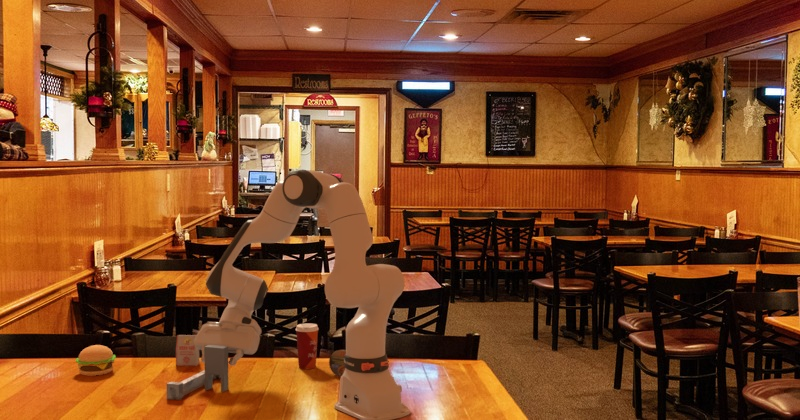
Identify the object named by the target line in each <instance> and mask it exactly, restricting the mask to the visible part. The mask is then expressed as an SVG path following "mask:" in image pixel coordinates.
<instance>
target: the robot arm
mask: <svg viewBox="0 0 800 420" xmlns="http://www.w3.org/2000/svg"><path fill="white" fill-rule="evenodd" d="M307 208H308V209H313V210H324V212H325V214H326V217H327V222H328V225H329V230H330V234H331V238H332V243H333V247H334V263H333V267H332V270H331V272H330V273H329V275H328V277H327V278H326V280H325V282H324V294H325V297H326V300H327V302H329V304H330V305H331V306H333V307H334V308H340V309H355V308H358V309H357V311H356V313H355V314H354V317H353V318H351V320H350V321H349V322H348V324H347V325H346V328H345V350H346V353H345V355H344V367H345V371H344V373H343V375H342V376H341V377H339V378H340V379H339V389H338V401H337V402H335V403H334V409H335V410H338V411H341V412H343V413H345V414H347V415H349V416H352V417H354V418H357V419H358V420H395V419H401V418H404V417H407V416H409V415H410V414H411V410H410V408H408V407H407V406H406V404H405V403H404V402H402V392H403V387H402V384H397V383H396V381H395V378H394V377H395V376H392V374H391V371H390V370H389V367H390V366H389V365H390V364H389V363H390V361H389V360H388V354H387V353H386V334H387V325H388V319H389V316H390V314H391V311H392V308H393V306H394V304H395V303H396V301H397V300H398V298H399V297H400V296H401V295H402V293H403V291H404V288H405V277H404V274H403V272H402V271H401V269H400V268H399V267H398V266H396V265H393V264H392V265H391V264H386V263H385V264H384V263H377V264H371V265H369V264H368V265H367V263H366V254H367V251H368V250H369V249H370V248H371V246H373V242H374V237H373V233H372V229H371V226H370V222H369V218H368V215H367V211H366V209H365V208H366V207H365V205H364V203H363V200H362V198H361V195H360V194H359V191H358V190H357V187H356V186H355V185H354V184H353V183H350V182H346V181H345V182H344V180H343V179H342V178H341V177H339V176H337V175H335V174H330V173H326V172H322V171H320V170H307V169H296V170H293V171H291V172H289V173H287V175H286V176H285V178H284V179H282V180H280V181H278V182H276V184H275V185H274V187H273V189H272V190H271V192H270V193H269V196H268V197H267V199H266V201H265V203H264V206H263V208H262V210H261V212H260V213H259V214H258V215H257V217H255V218H253V219H248V220H246V221H245V222H244V223H243V224H242V226H241V227H240V229H239V230H238V231H237V233H236V234H235V235H234V237H233V238H232V240H231V241H230V242H229V245H228V246H227V248H226V249H225V251H224V252H223V254H222V256H221V257H220V258H219V260H218V262H217V263H216V264H215V265H214V266H212V268H211V270H210V271H209V273H208V274H207V276H206V280H205V286H206V288H207V290H208V292H209V293H210V295H213V296H216V297H220V298H224V299H227V300H228V301H227V302H228V303H227V306H226V307H225V308H224V310H223V312H222V314H221V317H220V319H219V322H212V321H208V322H205V323H204V324H202V325H201V327H200V329H199V331H198V332H197V334H196V335H197V336H196V338H195V339H194V345H195V346H196V348H197V349H198V350H199V351H201V354H202V355H201V358H200V361H201V362H202V363H204V364H205V360H204V347H205V346H207V345H217V346H228V354H229V353H232V354H235V355H234V356H232V357H230V358H229V360H228V365H229V366H233V367H234V366H236V364H237V362H238V361H239V360H240V359H242V358H243V356H244V355H254V354H255V353H256V352H257V351H258V348H259V345H260V341H261V338H260V335H261V334H262V328H261V327H260V325H259V324H258V322H257V321H256V320H255V319H254V318H252V315H253V312H254V311H257V310H258V309H261V307H262V306H263V304H264V299H265V297H266V295H267V294H268V290H269V287H268V284H267V282H266V281H265V279H263V278H262V277H260V276H257V275H254V274H252V273H249V272H246V271H244V270H241V269H239V268H237V267H234V266H233V264H234V262H235V261H236V259H237V257H238V256H239V255H240V253H241V252H242V250H243V248H244V247H246V246H247V245H250V244H258V243H259V244H260V243H261V244H276V243H281V242H282V241H285V240H287V239H288V238H290V236H291V235H292V233H293V232H294V230H295V228H296V226H297V224H298V222H299V219H300V217H301V215H302V212H303V211H304V209H307Z"/></svg>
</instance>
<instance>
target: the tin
mask: <svg viewBox="0 0 800 420" xmlns="http://www.w3.org/2000/svg"><path fill="white" fill-rule="evenodd" d="M345 353H346V349H338V350H334V351H333V352H332V353H331V354H330V356H329V359H328V363H329V364H328V365H329V368H330V371H331V372H332V373H333V374H334V375H335V376H337V377H339V378H341V376H342V375H343V373H344V371H345V367H344V355H345Z"/></svg>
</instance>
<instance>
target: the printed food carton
mask: <svg viewBox="0 0 800 420" xmlns="http://www.w3.org/2000/svg"><path fill="white" fill-rule="evenodd" d="M196 336H197V334H194V335H193V334H192V335H191V334H187V335H186V334H176V341H175V342H176V343H175V367H197V366H198V365H200V350H198V349H197V348H196V346H195V345H194V339H195V338H196Z"/></svg>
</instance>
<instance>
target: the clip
mask: <svg viewBox="0 0 800 420" xmlns="http://www.w3.org/2000/svg"><path fill="white" fill-rule="evenodd" d="M204 360H205V363H204V370H205V385H204V390H205V391H209V390H211V389H213V381H212V374H216V375H221V378H220V392H223V393H225V392H226V391H228V390H229V352H228V346H217V345H207V346H205V347H204Z"/></svg>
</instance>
